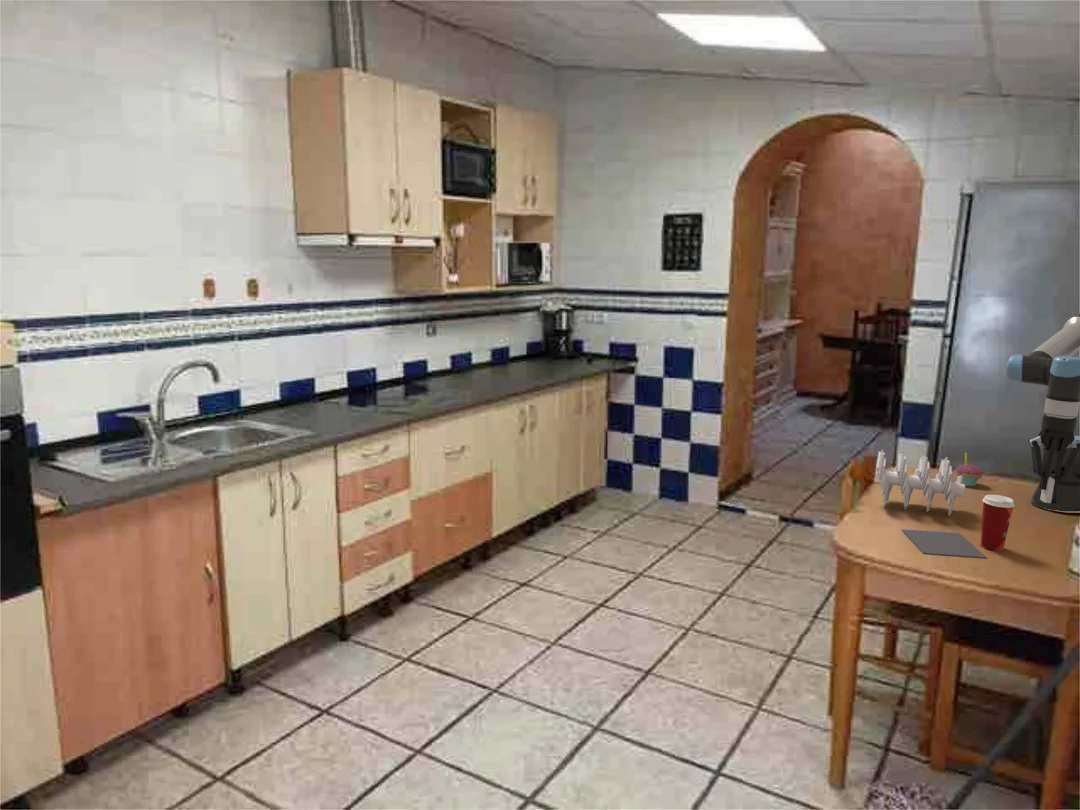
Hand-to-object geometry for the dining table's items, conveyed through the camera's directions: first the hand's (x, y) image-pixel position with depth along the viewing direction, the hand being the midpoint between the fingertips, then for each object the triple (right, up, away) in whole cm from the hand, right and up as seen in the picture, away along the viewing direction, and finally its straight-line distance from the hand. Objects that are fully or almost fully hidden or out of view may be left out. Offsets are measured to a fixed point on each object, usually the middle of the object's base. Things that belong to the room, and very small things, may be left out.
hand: (1045, 501), depth 215 cm
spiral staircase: (-19, -7, +35) cm, 40 cm away
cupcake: (+13, -2, +63) cm, 64 cm away
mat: (-25, -12, +6) cm, 28 cm away
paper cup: (-12, -13, +4) cm, 18 cm away
